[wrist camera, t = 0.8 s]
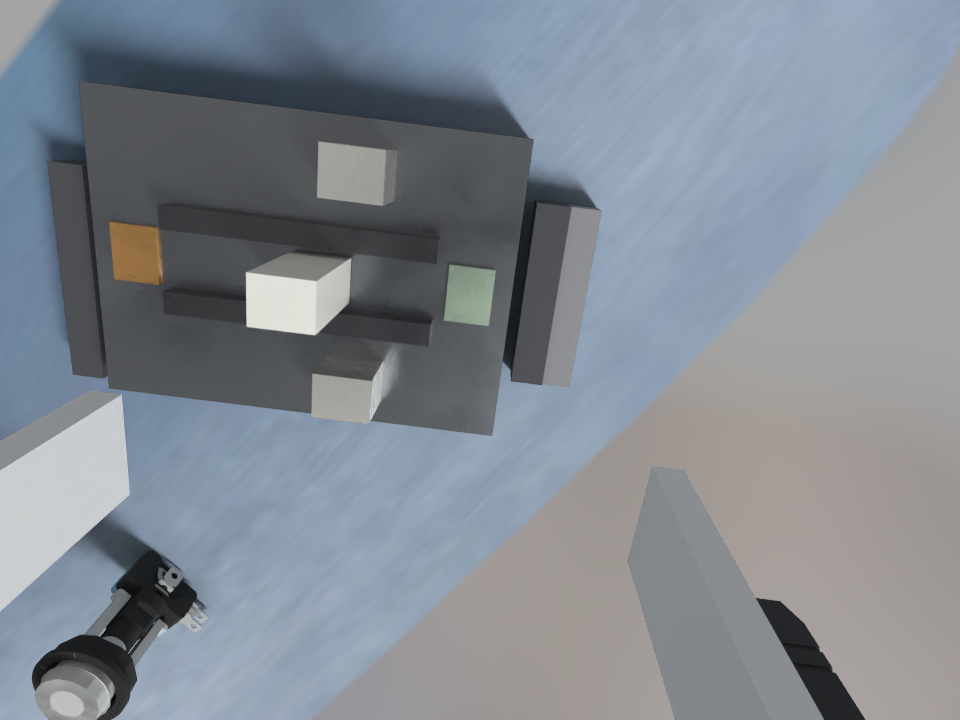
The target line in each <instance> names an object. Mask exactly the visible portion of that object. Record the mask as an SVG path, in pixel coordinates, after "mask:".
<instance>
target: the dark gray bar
mask: <svg viewBox="0 0 960 720" xmlns="http://www.w3.org/2000/svg"><path fill="white" fill-rule="evenodd" d="M47 163H48V171H49V180H50V188H51V196H52V205H53V213H54V221H55V229H56V238H57V246H58V254H59V263H60V271H61V279H62V288H63V296H64V304H65V313H66V321H67V329H68V338H69V346H70V354H71V363H72V371H73V375H81V376H89V377H97V378H105V377H107V376H108V372H107V362H106V352H105V342H104V332H103V322H102V312H101V302H100V292H99V282H98V271H97V261H96V251H95V241H94V231H93V221H92V211H91V201H90V191H89V181H88V171H87V163H86V162H78V161H47Z"/></svg>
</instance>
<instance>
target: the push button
mask: <svg viewBox="0 0 960 720" xmlns="http://www.w3.org/2000/svg"><path fill="white" fill-rule="evenodd" d="M160 560H161V559H160V556H159V555H158V554H157V553H155V552H154V551H149V552H148V553H147V554H145V555H144V556H143V557H142V558H141V559H139V560H138V561H137V562H136V563H135V564H133V565H132V566H131V567H130V568H129V569H128V570H127V571H126V572H125V574H124V575H123V576H122V577H121V578H120V579H119V580H118V581H117V582H116V583H115V585H114V586H113V587H112V589H111V592H112V593H113V595H112V596H111V600H112V601H113V602H112V603H111V604H110V605H109V606H108V607H107V609H106V610H105V611H104V612H103V613H102V614H101V615H100V617H99V618H98V619H97V620H96V621H95V622H94V624H93V625H92V626H91V627H90V628H89V629H88V630H87V632H86V633H85V634H84V635H79V636H76V637H74V638H72V639H70V640H68V641H66V642H63V643H61V644H60V645H58V647H57V648H56V649H54V650H52V651H50V652H48V653H47V654H46V655H44V656H43V657H42V658H41V660H40V661H39V662H38V663H37V664H36V666H35V667H34V670H33V673H32V683H33V687H34V689H35V692H36V693H35V698H34V699H35V701H36V704H37V708H38V709H39V710H40V711H41V712H42V713H43V714H44V715H45V716H46V717H47V718H48V719H49V720H111V719H113V718H115V717H116V716H118V715H119V714H120V713H121V712H122V710H123V709H124V707H125V706H126V704H127V703H128V701H129V698H130V692H131V690H132V689H133V687H134V685H135V683H136V681H137V676H136V672H135V666H136V664H137V663H138V661H139V660H140V659H141V657H142V656H143V654H144V653H145V652H146V650H147V649H148V647H149V646H150V645H151V643H152V642H153V641H154V639H155V638H156V636H160V635H162V634H163V633H164V632H165V631H167V630H168V629H169V628H171V627H172V626H173V625H175V624H176V623H177V622H178V621H179V622H180V623H181V624H183V623H184V624H185V625H186V626H187V627H189V628H190V629H191V630H192V631H193V632H197V631H199V630H200V629H201V628H202V625H200V624H199V623H198V622H197V621H196V620H194V619H193V618H192V616H193V617H195V618H196V619H197V620H198V621H200V622H201V623H203V622H204V621H205V620H207V619H208V616H207V615H206V614H205V613H204V612H203V611H201V610H200V609H199V608H198V607H199V606H198V605H197V604H196V603H194V600H195V599H196V597H197V593H196V592H195V591H194V590H193V589H192V588H190V587H189V586H188V585H187V584H186V583H184V582H183V581H182V578H183V574H182V573H181V572H180V571H179V570H178V569H176V568H175V567H171V568H170V569H168V568H167V567H165V566H164V565H163V564H162V563H161V562H160ZM174 573H175V574H177V576H176V575H175V574H174ZM198 614H201V615H202V616H203V617H202V618H200V617H198ZM191 624H196V626H197V627H192V626H191ZM105 627H106V630H105V632H104V633H103V634H102V635H101V636H100V637H99V636H98V635H99V634H100V633H101V632H102V631H103V630H104V628H105ZM139 639H140V640H139ZM137 640H139V641H138V642H137V644H136V645H135V646H134V648H133V649H132V650H131V652H130V653H129V654H128V652H129V651H130V649H131V648H132V647H133V645H134V644H135V643H136V641H137Z"/></svg>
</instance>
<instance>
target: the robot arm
mask: <svg viewBox="0 0 960 720" xmlns="http://www.w3.org/2000/svg"><path fill="white" fill-rule="evenodd" d="M128 495H130V490H129V478H128V467H127V455H126V443H125V431H124V419H123V407H122V395H120V394H112V393H105V392H97V391H90V390H89V391H88V392H86V393H84V394H82V395H81V396H79V397H77V398H75V399H73V400H72V401H70V402H68V403H66V404H65V405H63V406H61V407H59V408H58V409H56V410H54V411H52V412H51V413H49V414H47V415H45V416H43V417H42V418H40V419H38V420H36V421H35V422H33V423H31V424H29V425H28V426H26V427H24V428H22V429H20V430H19V431H17V432H15V433H13V434H12V435H10V436H8V437H6V438H5V439H3V440H1V441H0V611H1V610H2V609H3V608H4V607H6V606H7V605H8V604H9V603H10V602H11V601H12V600H13V599H14V598H16V597H17V596H18V595H19V594H20V593H21V592H22V591H23V590H24V589H25V588H27V587H28V586H29V585H30V584H31V583H32V582H33V581H34V580H35V579H37V578H38V577H39V576H40V575H41V574H42V573H43V572H44V571H45V570H47V569H48V568H49V567H50V566H51V565H52V564H53V563H54V562H55V561H56V560H58V559H59V558H60V557H61V556H62V555H63V554H64V553H65V552H66V551H68V550H69V549H70V548H71V547H72V546H73V545H74V544H75V543H76V542H78V541H79V540H80V539H81V538H82V537H83V536H84V535H85V534H86V533H88V532H89V531H90V530H91V529H92V528H93V527H94V526H95V525H96V524H97V523H99V522H100V521H101V520H102V519H103V518H104V517H105V516H106V515H107V514H109V513H110V512H111V511H112V510H113V509H114V508H115V507H116V506H117V505H119V504H120V503H121V502H122V501H123V500H124V499H125V498H126V497H127V496H128ZM628 564H629V567H630V571H631V574H632V577H633V580H634V584H635V587H636V591H637V594H638V597H639V601H640V604H641V607H642V611H643V614H644V617H645V621H646V624H647V627H648V631H649V634H650V637H651V641H652V644H653V647H654V651H655V654H656V658H657V661H658V664H659V667H660V671H661V674H662V678H663V681H664V684H665V687H666V691H667V694H668V698H669V701H670V704H671V708H672V711H673V714H674V718H675V720H865V719H864V717H863V715H862V714H861V713H860V711H859V709H858V707H857V706H856V704H855V703H854V701H853V700H852V698H851V696H850V695H849V693H848V692H847V690H846V689H845V687H844V685H843V684H842V682H841V681H840V679H839V678H838V676H837V675H836V673H833V672H832V667H831V665H830V664H829V662H828V660H827V659H826V657H825V655H824V654H823V653H822V652H820V651H819V646H818V644H817V643H816V641H815V640H814V638H813V637H812V635H811V633H810V632H809V631H808V629H807V627H806V626H805V624H804V623H803V622H802V621H801V620H800V619H799V618H798V617H797V616H795V615H794V614H793V613H792V612H791V611H790V610H789V609H788V608H787V607H786V606H785V605H784V604H782V603H781V602H780V601H774V600H766V599H759V598H755V596H754V594H753V592H752V591H751V589H750V587H749V585H748V584H747V582H746V580H745V578H744V576H743V575H742V573H741V571H740V569H739V567H738V566H737V564H736V562H735V560H734V559H733V557H732V555H731V553H730V551H729V550H728V548H727V546H726V544H725V543H724V541H723V539H722V537H721V535H720V534H719V532H718V530H717V528H716V527H715V525H714V523H713V521H712V520H711V518H710V516H709V514H708V512H707V511H706V509H705V507H704V505H703V503H702V502H701V500H700V498H699V496H698V495H697V493H696V491H695V489H694V488H693V486H692V484H691V482H690V480H689V479H688V477H687V475H686V473H685V472H684V470H677V469H669V468H662V467H655V466H652V468H651V473H650V476H649V480H648V484H647V488H646V492H645V496H644V500H643V504H642V507H641V511H640V515H639V519H638V523H637V527H636V531H635V535H634V538H633V543H632V546H631V550H630V554H629V558H628Z"/></svg>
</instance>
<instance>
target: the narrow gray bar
mask: <svg viewBox="0 0 960 720" xmlns="http://www.w3.org/2000/svg"><path fill="white" fill-rule="evenodd" d="M601 212H602V211H601V210H600V209H598V208H592V207H584V206H576V205H569V204H561V203H553V202H545V201H537V200H535V207H534V214H533V221H532V227H531V234H530V241H529V248H528V255H527V262H526V269H525V275H524V282H523V289H522V296H521V303H520V310H519V316H518V323H517V330H516V337H515V344H514V351H513V357H512V364H511V381H513V382H521V383H529V384H537V385H542V384H547V385H555V386H563V387H569V386H570V381H571V375H572V370H573V365H574V359H575V354H576V348H577V343H578V337H579V332H580V327H581V321H582V316H583V310H584V305H585V299H586V294H587V288H588V283H589V278H590V272H591V267H592V261H593V256H594V250H595V245H596V239H597V234H598V229H599V223H600V218H601Z"/></svg>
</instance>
